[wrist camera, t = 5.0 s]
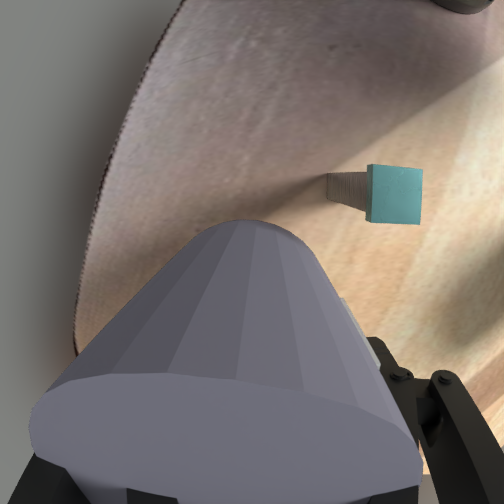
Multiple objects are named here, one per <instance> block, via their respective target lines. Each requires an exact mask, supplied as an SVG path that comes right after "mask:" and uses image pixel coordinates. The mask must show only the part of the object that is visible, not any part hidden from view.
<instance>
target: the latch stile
mask: <svg viewBox="0 0 504 504" xmlns="http://www.w3.org/2000/svg"><path fill="white" fill-rule="evenodd" d="M422 172H423V170H422V169H414V168H405V167H396V166H386V165H376V164H371V165H367V172H345V173H328V181H327V199H329V200H332V201H335V202H338V203H341V204H344V205H347V206H350V207H353V208H356V209H359V210H361V211H364V212H366V218H365V220H366V221H368V222H371V223H392V224H416V225H420V217H421V201H422Z"/></svg>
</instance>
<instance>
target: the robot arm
mask: <svg viewBox="0 0 504 504" xmlns="http://www.w3.org/2000/svg"><path fill="white" fill-rule="evenodd" d="M431 1H433V2H435V3H437V4H439V5H441V6H443V7H445V8H447V9H450V10H453V11H456V12H459V13H464V14H475V13H478V12H480V11H482V10H483V9H485V8H486V7H488V6H489V5H491V4H492V2H493V1H494V0H431ZM340 299H341V301H342V303H343V305H344V307H345V308H346V310H347V312H348V314H349V315H350V317H351V319H352V321H353V323H354V324H355V326H356V328H357V330H358V332H359V333H360V335H361V337H362V339H363V341H364V343H365V345H366V346H367V348H368V350H369V352H370V354H371V356H372V358H373V359H374V361H375V363H376V365H377V367H378V369H379V371H380V373H381V375H382V377H383V379H384V381H385V382H386V384H387V386H388V388H389V390H390V392H391V394H392V396H393V398H394V400H395V402H396V404H397V406H398V408H399V410H400V412H401V414H402V416H403V418H404V420H405V422H406V425H407V427H408V429H409V431H410V433H411V435H412V437H413V439H414V441H415V443H416V446H417V448H418V451H419V441H420V444H421V447H422V449H423V452H424V455H425V458H426V461H427V464H428V468H429V471H430V474H431V477H432V480H433V483H434V487H435V490H436V494H437V497H438V500H439V504H504V453H503V451H502V449H501V448H500V446H499V444H498V442H497V440H496V438H495V437H494V435H493V433H492V431H491V430H490V428H489V426H488V424H487V423H486V421H485V419H484V417H483V416H482V414H481V412H480V411H479V409H478V407H477V406H476V404H475V403H474V401H473V399H472V398H471V396H470V395H469V393H468V391H467V390H466V388H465V387H464V385H463V384H462V382H461V380H460V379H459V377H458V376H457V375H456V374H454V373H453V372H451V371H448V370H438V371H435V372H434V373H433V374H432V376H431V379H418V378H414V376H413V374H412V372H410V371H409V370H408V369H405V368H402V367H399V366H398V364H397V362H396V361H395V359H394V358H393V356H392V354H391V353H390V351H389V350H388V349H387V346H386V345H385V343H384V342H383V341H382V340H380V339H379V338H377V337H365V335H364V333H363V331H362V330H361V328H360V326H359V324H358V323H357V321H356V319H355V317H354V316H353V314H352V312H351V310H350V309H349V307H348V305H347V304H346V302H345V300H344V299H343V298H340ZM418 488H419V485H415V486H412V487H408V488H404V489H400V490H396V491H391V492H387V493H382V494H377V495H372V496H371V498H370V500H369V501H368V503H367V504H418V490H419V489H418ZM126 492H127V504H179V502H178V500H177V498H173V497H168V496H162V495H157V494H152V493H147V492H143V491H138V490H134V489H130V488H126ZM8 504H91V503H90V501H89V500H88V499H87V498H86V496H85V495H84V494H83V492H82V491H81V490H80V488H79V487H78V486H77V484H76V483H75V481H74V480H73V479H72V477H71V476H70V474H69V473H68V471H67V470H66V468H63V467H61V466H58V465H56V464H53V463H51V462H49V461H46V460H44V459H42V458H39V457H37V456H36V454H35V452H34V454H33V456H32V458H31V459H30V461H29V463H28V465H27V467H26V469H25V470H24V472H23V474H22V476H21V478H20V480H19V482H18V484H17V486H16V488H15V490H14V492H13V494H12V496H11V498H10V500H9V502H8Z"/></svg>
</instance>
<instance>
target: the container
mask: <svg viewBox="0 0 504 504" xmlns="http://www.w3.org/2000/svg"><path fill="white" fill-rule="evenodd" d="M29 433H30V438H31V444H32V447H33V450H34V452H35V454H36V456H37V457H39V458H42V459H44V460H46V461H49V462H51V463H53V464H56V465H58V466H61V467H63V468H66V470H67V471H68V473H69V474H70V476H71V477H72V479H73V480H74V481H75V483H76V484H77V486H78V487H79V488H80V490H81V491H82V492H83V494H84V495H85V496H86V498H87V499H88V500H89V501H90V503H91V504H127V492H126V488H130V489H134V490H138V491H143V492H147V493H152V494H157V495H162V496H168V497H173V498H177V500H178V502H179V504H367V503H368V501H369V500H370V498H371V496H372V495H377V494H382V493H387V492H391V491H396V490H400V489H404V488H408V487H412V486H415V485H419V486H420V484H421V482H422V474H423V460H422V458H421V455H420V453H419V451H418V448H417V446H416V443H415V441H414V439H413V437H412V435H411V433H410V431H409V429H408V427H407V425H406V422H405V420H404V418H403V416H402V414H401V412H400V410H399V408H398V406H397V404H396V402H395V400H394V398H393V396H392V394H391V392H390V390H389V388H388V386H387V384H386V382H385V381H384V379H383V377H382V375H381V373H380V371H379V369H378V367H377V365H376V363H375V361H374V359H373V358H372V356H371V354H370V352H369V350H368V348H367V346H366V345H365V343H364V341H363V339H362V337H361V335H360V333H359V332H358V330H357V328H356V326H355V324H354V323H353V321H352V319H351V317H350V315H349V314H348V312H347V310H346V308H345V307H344V305H343V303H342V301H341V299H340V298H339V296H338V294H337V292H336V291H335V289H334V287H333V286H332V284H331V282H330V280H329V279H328V277H327V275H326V274H325V272H324V270H323V268H322V267H321V265H320V263H319V262H318V260H317V258H316V257H315V255H314V253H313V252H312V251H311V250H310V249H309V248H308V246H307V245H306V244H305V243H304V242H303V241H302V240H301V239H299V238H298V237H297V236H295V235H294V234H292V233H291V232H290V231H288V230H285V229H283V228H281V227H279V226H277V225H275V224H271V223H267V222H262V221H258V220H241V219H240V220H234V221H229V222H223V223H221V224H218V225H215V226H213V227H210V228H208V229H206V230H205V231H203V232H201V233H200V234H198V235H197V236H195V237H194V238H193V239H192V240H191V241H190V242H189V243H188V244H187V245H186V246H185V247H183V248H182V249H181V250H180V251H179V252H178V253H177V254H176V255H175V256H174V257H173V258H172V259H171V260H170V261H169V262H168V263H167V264H166V265H165V266H164V267H163V268H162V269H161V270H160V271H159V272H158V273H157V274H156V275H155V276H154V277H153V278H152V279H151V280H150V281H149V282H148V283H147V284H146V285H145V286H144V287H143V288H142V289H141V290H140V291H139V292H138V293H137V294H136V295H135V296H134V297H133V298H132V299H131V300H130V301H129V302H128V303H127V304H126V305H125V306H124V307H123V308H122V309H121V310H120V311H119V312H118V314H117V315H116V316H115V317H114V318H113V319H112V320H111V321H110V322H109V323H108V324H107V325H106V326H105V327H104V328H103V329H102V330H101V331H100V332H99V334H98V335H97V336H96V337H95V338H94V339H93V340H92V341H91V342H90V343H89V344H88V345H87V346H86V348H85V349H84V350H83V351H82V352H81V353H80V354H79V355H78V356H77V357H76V358H75V360H74V361H73V362H72V363H71V364H70V365H69V366H68V367H67V369H66V370H65V371H64V372H63V373H62V374H61V375H60V376H59V378H58V379H57V380H56V381H55V382H54V383H53V384H52V385H51V387H50V388H49V389H48V390H47V391H46V393H45V394H44V395H43V396H42V397H41V399H40V400H39V401H38V402H37V403H36V405H35V406H34V407H33V408H32V412H31V417H30V423H29Z"/></svg>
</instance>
